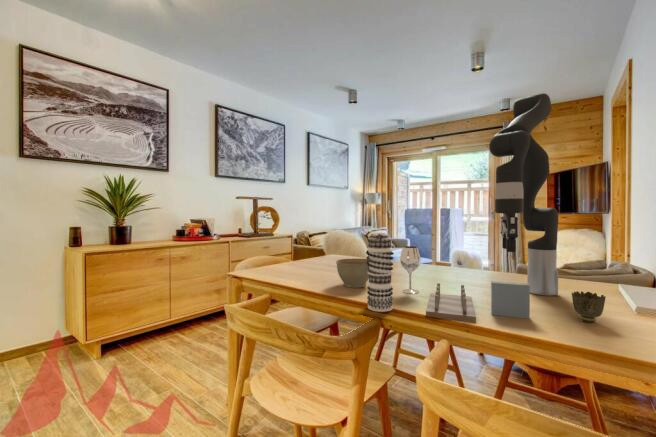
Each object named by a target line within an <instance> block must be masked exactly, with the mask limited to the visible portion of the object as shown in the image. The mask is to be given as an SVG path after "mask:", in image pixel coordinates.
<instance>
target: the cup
mask: <svg viewBox="0 0 656 437" xmlns="http://www.w3.org/2000/svg"><path fill="white" fill-rule="evenodd" d="M606 297H607V296H605V295H604V294H602V295H600V296H599V295H598V294H597V293H596V292H594V293H593V292H590V291H586V292H584V291H578V290H574V292H573V291H571V298H572V299H571V300H572V305H573V306H572V307H573V308H574V311H575V312H576V314H578V315H579V319H580V321H582V322H584V323H589V324H592V323H596V322H597V318H598V317H600V316H602V314H603V312H604V307H605V302H606Z"/></svg>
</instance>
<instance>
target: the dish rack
mask: <svg viewBox="0 0 656 437" xmlns="http://www.w3.org/2000/svg"><path fill="white" fill-rule="evenodd" d="M435 289H436V290H435V292H434V293H433V292H430V294H429V297H428V301H427V305H426V309H425V317H431V318H439V319H440V318H441V319H447V320H457V321H458V320H459V321H466V322H473V323H476V322H477V315H476V309H475V306H474V302H473V298H472V296H467V294H466V288H465V285H464V284H461V285H460V295H456V294H447V293H441V283H440V282H437V284H436V288H435Z"/></svg>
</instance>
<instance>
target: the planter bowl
mask: <svg viewBox="0 0 656 437" xmlns="http://www.w3.org/2000/svg"><path fill="white" fill-rule="evenodd" d="M367 261H368V260H367V259H366V258H342V259H338V260H336V262H335V263H336V270H337V274H338V276H339V278H340V280H341V281H342V283H343V286H344V287H347V288H357V289H358V288H362V287H363V288H364V287H365V286H366V285H367V283H368V281H369V274H368V273H367V272H368V270H367V267H369V266H368V265H367Z"/></svg>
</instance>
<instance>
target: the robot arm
mask: <svg viewBox="0 0 656 437" xmlns="http://www.w3.org/2000/svg"><path fill="white" fill-rule="evenodd" d="M512 108H513V109H512V114H513V115H512V116H513V120H511V121H510V123H509V124H508V125H507V127H505V128H503V129H501V130H499V131H498V132H497V133H496V134H494V135H493V136H492V137H491V139H490V141H489V144H488V145H489V146H488V147H489V148H488V149H489V152H490V154H491V155H492V156H494V157H496V158H502V157H503V158H504V157H510V156H511V157H512V156H513V157H512V158H511V159H510V161H507V162H504V163H501V164H499V165H497V166H496V168H495V189H494V213H496V214H502V216H500V235H501V238H502V241H501V244H502V246H501V247H502V249H504V250H506V252H507V253H516V251H517V250H516V249H517V248H516V243H517V242H516V241H517V239H518V237H519V232H518V231H519V230H518V229H519V227H518V224H519V223H518V220H519V217H518V216H515V215H516V214H522V223H523V226H524V229H525V230H526V231H527V232H528V231H529V232H544V234H543V236H541V237H539V238H537V239H536V238H535V239H532V240H529V241H528V242H527V279H526V280H527V281H526V282H527V283H526V284H529V285H530V294H533V295H539V296H549V297H550V296H559V270H558V269H557V263H558V262H557V260H558V259H557V258H558V257H557V252H558V251H557V250H558V231H559V230H558V229H559V213H558V210H557V209H556V208H555V207H535V202H536V197H537V195H538V194H539V192H540V191H541V188H542V187H543V186H544V184H545V183H546V182H547V179H549V175H550V159H549V155H548V153H547V151H546V150H545V149H544V148H543V147H542V146H541V145H540V144H539V143H538V141H536V140H535V139H534V137H533V136H532V134H531V133H532V132H533V130H534V129H535V128H536V127H537V126H538V125H540V124H541V123H542V122H543V121H545V120H546V119H548V117H549V116H550V114H551V110H552V101H551V98H550V95H549V94H547V93H543V92H541V93H537V94H534V95H529V96H526V97H522V98H519V99H516V100H515V101H514V102H513V106H512Z"/></svg>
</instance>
